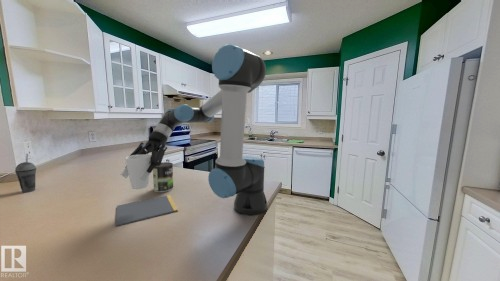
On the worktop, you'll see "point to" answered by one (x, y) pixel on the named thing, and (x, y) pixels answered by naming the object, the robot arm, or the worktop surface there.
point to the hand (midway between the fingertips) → (132, 177)
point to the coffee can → (163, 177)
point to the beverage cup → (26, 176)
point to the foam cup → (137, 170)
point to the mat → (144, 210)
